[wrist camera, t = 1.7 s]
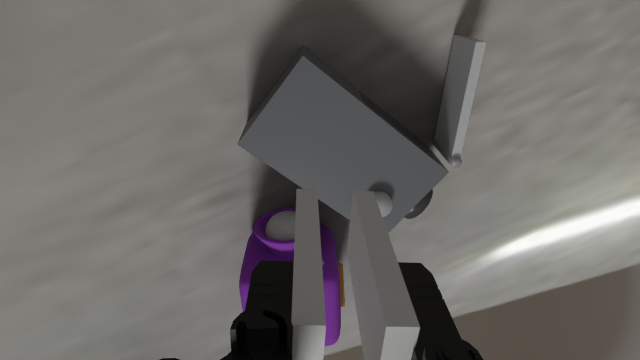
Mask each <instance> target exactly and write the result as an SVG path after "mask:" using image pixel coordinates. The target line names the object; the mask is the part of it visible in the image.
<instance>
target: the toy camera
mask: <svg viewBox="0 0 640 360" xmlns="http://www.w3.org/2000/svg"><path fill="white" fill-rule="evenodd" d="M295 216H296V208H293V207H291V208H281V209H276V210H273V211H270V212H268V213H266V214H264V215H263V216H261V217H260V218H259V219H258V220H257V221H256V222H255V224H254V228H253V229H254V232H253V233H252V234H251V236H250V237H249V240H248V243H247V247H246V251H245V255H244V260H243V264H242V269H241V274H240V280H239V288H240V296H241V302H242V308H243V312H244V311H245V306H246V301H247V297H248V290H249V286H250V279H251V274H252V271H253V269H254V268H255V267H256V266H257V265H258V263H259V262H260V261H261V260H268V261H294V242H295ZM319 224H320V226H321V222H320V219H319ZM320 240H321V255H322V270H323V286H324V301H325V317H326V333H325V345H324V346H329V345H333V344H335V343H336V342H337V340H338V338H339V335H340V328H341V308H340V307H343V306H345V298H344V280H343V264H338V260H337V252H336V245H335V240H334V236H333V234H332V232H331V230H330V229H328V228H326V227H320Z"/></svg>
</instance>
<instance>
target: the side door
mask: <svg viewBox="0 0 640 360" xmlns="http://www.w3.org/2000/svg"><path fill="white" fill-rule="evenodd" d="M485 46H486V42H484V41H480V40H477V39H473V38H470V37H466V36H462V35H454V38H453V43H452V49H451V54H450V59H449V65H448V70H447V75H446V80H445V86H444V91H443V96H442V102H441V107H440V112H439V117H438V123H437V128H436V133H435V137H434V138H433V140H432V143H433V145H434V146H435V147H436V148H437V150H438V151H439V152H440V153H441V154H442V156H443V157H444V158H445V159H446V160H447V162H448V163H449V164H450V165H451V166H452V167H453V168H457V167H459V166H460V165H461V163H462V160H461V159H460V157H461V153H462V148H463V144H464V139H465V135H466V131H467V126H468V122H469V117H470V113H471V108H472V104H473V99H474V95H475V90H476V86H477V81H478V77H479V72H480V69H481V65H482V60H483V56H484V51H485Z"/></svg>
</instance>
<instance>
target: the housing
mask: <svg viewBox="0 0 640 360" xmlns="http://www.w3.org/2000/svg"><path fill="white" fill-rule="evenodd" d="M238 145H239V146H241V147H242V148H243V149H245V150H246V151H248V152H249V153H251V154H252V155H254V156H255V157H257V158H258V159H260V160H261V161H263V162H264V163H266V164H267V165H269V166H270V167H272V168H273V169H275V170H276V171H277V172H279V173H280V174H282V175H283V176H285V177H286V178H288V179H289V180H291V181H292V182H294V183H295V184H297V185H298V186H300V187H301V188H303V189H317V193H318V199H319V200H320V201H322V202H323V203H325V204H326V205H328V206H329V207H331V208H332V209H334V210H335V211H337V212H338V213H340V214H341V215H343V216H344V217H346V218H347V219H348V220H350V216H351V207H352V197H353V191H374V194H375V197H376V200H377V203H378V206H379V209H380V212H381V215H382V218H383V221H384V223H385V226H386V229H387V232H388V233H389V232H390V231H391V230H392V229H393V228H394V227H395V226H396V225H397V224H398V223H399V222H400V221H401V220H402V219H403V218H404V217H405V218H407V219H411V218H414V217H416V216H418V215H419V214H421V213H422V212H423V211H424V210H425V208H426V207H427V206H428V204H429V202H430V200H431V198H432V194H433V190H432V188H433V187H434V186H435V185H436V184H437V183H438V182H439V181H440V180H441V179H442V178H443V177H444V176H445V175H446V174H447V173H448V171H447V169H446V168H445V167H444V166H443V164H442V163H441V162H440V160H439V159H438V158H437V157H436V155H435V154H434V153H433V152H432V150H431V149H430V148H429V147H428V146H427V145H425V144H424V143H423V142H422V141H420V140H419V139H418V138H417V137H416V136H414V135H413V134H412V133H411V132H409V131H408V130H407V129H406V128H404V127H403V126H402V125H401V124H399V123H398V122H397V121H396V120H395V119H393V118H392V117H391V116H390V115H388V114H387V113H386V112H385V111H383V110H382V109H381V108H380V107H378V106H377V105H376V104H375V103H373V102H372V101H371V100H370V99H369V98H367V97H366V96H365V95H364V94H362V93H361V92H360V91H359V90H357V89H356V88H355V87H354V86H352V85H351V84H350V83H349V82H347V81H346V80H345V79H344V78H343V77H341V76H340V75H339V74H338V73H336V72H335V71H334V70H333V69H331V68H330V67H329V66H328V65H326V64H325V63H324V62H323V61H321V60H320V59H319V58H318V57H317V56H315V55H314V54H313V53H312V52H310V51H309V50H308V49H307V48H305V47H304V46H302V48H301V49H300V51H299V52H298V53H297V55H296V56H295V57H294V59H293V60H292V62H291V63H290V64H289V66H288V67H287V68H286V70H285V71H284V72H283V74H282V75H281V77H280V78H279V79H278V81H277V82H276V83H275V85H274V86H273V87H272V89H271V90H270V92H269V93H268V94H267V96H266V97H265V98H264V100H263V101H262V103H261V104H260V105H259V107H258V108H257V109H256V111H255V112H254V113H253V115H252V116H251V118H250V119H249V120H248V122H247V123H246V126H245V128H244V130H243V133H242V135H241V137H240V139H239V142H238Z"/></svg>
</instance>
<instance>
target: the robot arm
mask: <svg viewBox="0 0 640 360" xmlns="http://www.w3.org/2000/svg"><path fill="white" fill-rule="evenodd" d="M347 256H348V262H349V268H350V274H351V280H352V286H353V292H354V299H355V305H356V311H357V317H358V323H359V329H360V335H361V342H362V348H363V353H364V360H483V359H482V357H481V355H480V354H479V352H478V351H477V350H476V349H475V348H474V347H473V346H472V345H471V344H469V343H468V342H466V341H464V340H462V339H461V337H460V335H459V333H458V330H457V328H456V326H455V324H454V321H453V319H452V317H451V315H450V313H449V310H448V308H447V306H446V304H445V301H444V299H442V295H441V293H440V290H439V289H438V286H437V284H436V281H435V279H434V277H433V275H432V273H431V272H430V271H429V270H427V269H426V268H425V267H424V266H423V265H422V264H421V263H400V262H398V261H397V258H396V255H395V253H394V250H393V247H392V244H391V241H390V238H389V235H388V232H387V229H386V226H385V223H384V221H383V218H382V215H381V212H380V209H379V206H378V203H377V200H376V197H375V194H374V191H353V197H352V207H351V216H350V226H349V236H348V245H347ZM325 333H326V317H325V301H324V286H323V270H322V255H321V240H320V224H319V209H318V193H317V189H297V191H296V216H295V242H294V261H268V260H261V261H260V262H259V263H258V265H257V266H256V267H255V268H254V269H253V271H252V274H251V279H250V286H249V290H248V297H247V301H246V306H245V311H244V312H242V313H241V314H240V315H239V316H238V317H237V318H236V319H235V320H234V321H233V324H232V326H231V329H230V335H231V352H230V353H229V354H228V355H227V356H225V357H224V358H222V359H220V360H323V357H324V345H325ZM160 360H179V359H176V358H163V359H160Z"/></svg>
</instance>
